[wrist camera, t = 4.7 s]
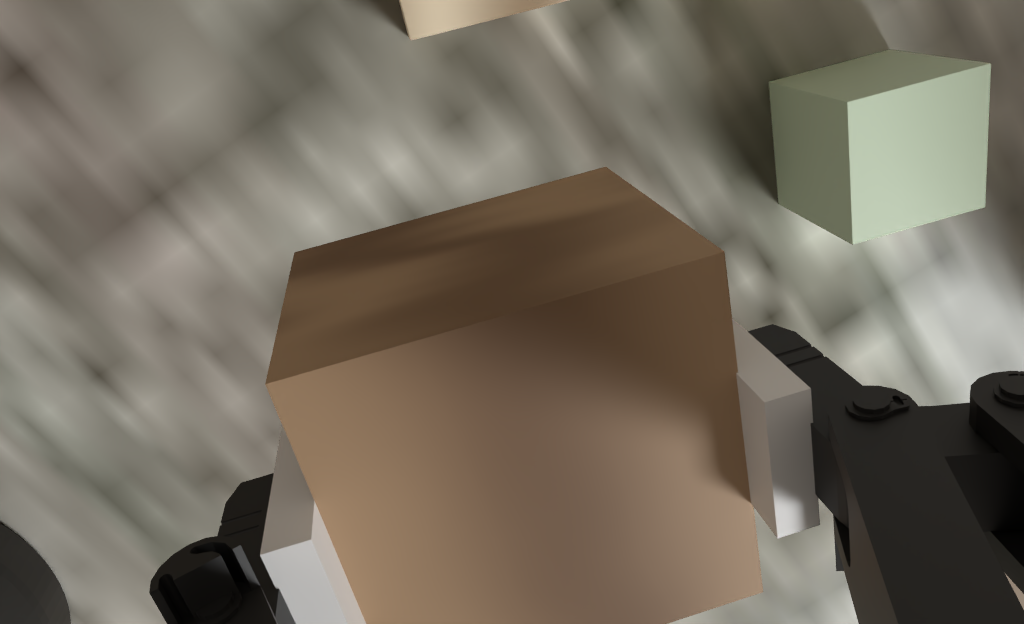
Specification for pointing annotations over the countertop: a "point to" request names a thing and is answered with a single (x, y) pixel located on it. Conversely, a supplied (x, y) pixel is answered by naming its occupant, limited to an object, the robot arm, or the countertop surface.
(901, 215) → the sage block
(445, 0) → the blueprint board
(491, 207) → the walnut block
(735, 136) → the countertop surface
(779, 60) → the countertop surface
